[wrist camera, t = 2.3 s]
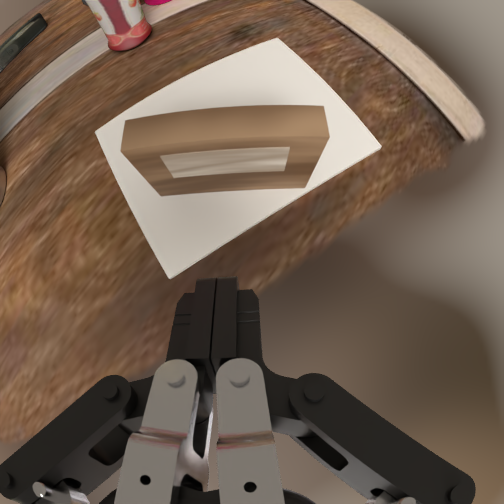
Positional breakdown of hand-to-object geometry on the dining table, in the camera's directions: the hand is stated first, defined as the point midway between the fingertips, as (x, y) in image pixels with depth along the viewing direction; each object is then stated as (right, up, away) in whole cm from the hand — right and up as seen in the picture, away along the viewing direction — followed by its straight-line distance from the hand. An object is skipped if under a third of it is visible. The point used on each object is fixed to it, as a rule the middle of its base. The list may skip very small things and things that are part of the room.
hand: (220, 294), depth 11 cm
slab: (-1, +9, +16) cm, 19 cm away
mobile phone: (-47, +44, +22) cm, 68 cm away
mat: (-1, +14, +18) cm, 23 cm away
